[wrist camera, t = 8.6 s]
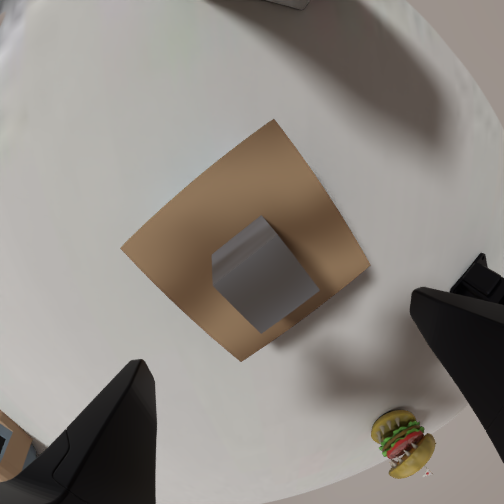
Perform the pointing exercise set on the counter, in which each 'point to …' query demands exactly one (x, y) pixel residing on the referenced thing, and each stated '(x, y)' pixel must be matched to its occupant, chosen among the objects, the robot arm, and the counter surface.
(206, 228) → the lid
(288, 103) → the counter surface
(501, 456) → the robot arm
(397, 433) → the hamburger
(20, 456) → the blue squat cylinder
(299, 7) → the coffee box
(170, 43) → the counter surface
